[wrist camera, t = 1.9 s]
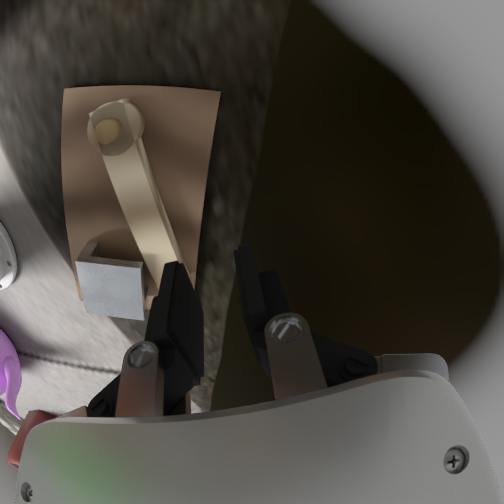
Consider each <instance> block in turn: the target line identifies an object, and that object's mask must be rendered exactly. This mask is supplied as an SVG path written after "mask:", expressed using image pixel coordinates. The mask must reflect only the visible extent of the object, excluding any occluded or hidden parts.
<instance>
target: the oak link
mask: <svg viewBox="0 0 504 504" xmlns="http://www.w3.org/2000/svg"><path fill="white" fill-rule="evenodd" d="M89 116H90V119H89V122H88V127H87V134H88V139H89V142H90V144H91V145H92V147H93V148H94V149H95V150H96V151H97V152H99V153H100V154H102V157H103V160H104V162H105V165H106V168H107V171H108V174H109V176H110V179H111V182H112V184H113V187H114V190H115V192H116V195H117V197H118V200H119V203H120V205H121V207H122V210H123V212H124V215H125V217H126V220H127V222H128V224H129V227H130V229H131V231H132V234H133V236H134V238H135V240H136V243H137V245H138V247H139V249H140V252H141V254H142V256H143V258H144V260H145V262H146V264H147V267H148V269H149V271H150V273H151V275H152V277H153V279H154V281H155V283H156V285H157V287H158V289H159V287H160V282H161V277H162V273H163V268H164V264H165V263H169V262H173V261H178V262H179V263H183V264H184V266H185V268H186V271H187V273H188V276H189V278H190V274H189V271H188V269H187V266H186V264H185V261H184V259H183V256H182V254H181V251H180V249H179V246H178V243H177V241H176V238H175V236H174V233H173V230H172V228H171V225H170V222H169V219H168V217H167V214H166V211H165V208H164V206H163V203H162V200H161V197H160V194H159V191H158V188H157V185H156V182H155V179H154V176H153V173H152V170H151V167H150V164H149V161H148V158H147V155H146V152H145V149H144V145H143V142H142V139H141V136H142V134H143V131H144V125H145V123H144V117H143V114H142V112H141V110H140V109H139V108H138V107H137V106H136V105H135V104H133V103H132V102H131V101H130V98H125V99H121V100H118V101H113V102H108V103H105V104H103V105H101V106H100V107H98V108H97V109H96V110H95V111H93V112H91V113H89Z"/></svg>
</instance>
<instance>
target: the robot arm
mask: <svg viewBox="0 0 504 504" xmlns="http://www.w3.org/2000/svg"><path fill="white" fill-rule="evenodd" d="M234 256H235V263H236V271H237V278H238V285H239V293H240V299H241V307H242V313H243V317H244V321H245V325H246V328H247V331H248V334H249V337H250V340H251V343H252V346H253V349H254V352H255V355H256V358H257V361H258V364H259V366H263V367H264V370H265V373H266V375H268V376H270V377H272V380H273V386H274V392H275V398H276V400H275V401H271V402H266V403H261V404H256V405H250V406H244V407H238V408H232V409H226V410H219V411H211V412H203V413H194V414H191V396H190V392H189V391H190V390H191V389H192V388H193V386H197V385H200V377H204V314H203V309H202V306H201V304H200V302H199V299H198V297H197V295H196V292H195V290H194V288H193V285H192V283H191V280H190V278H189V276H188V273H187V271H186V268H185V266H184V264H183V263H179V262H178V261H173V262H169V263H165V264H164V268H163V273H162V277H161V282H160V287H159V292H158V296H154V297H153V300H152V304H151V309H150V314H149V319H148V324H147V329H146V335H145V340H144V341H141V342H138V343H136V344H134V345H132V346H131V347H130V348H129V349H128V350H127V352H126V353H125V356H124V359H123V364H122V370H121V374H119V375H118V376H117V377H116V378H115V379H114V380H113V381H112V382H111V383H109V384H108V385H107V386H106V387H105V388H104V389H103V390H102V391H101V392H99V393H98V394H97V395H96V396H95V397H94V398H93V399H92V400H91V401H90V403H89V405H88V407H86V406H82V407H80V408H78V409H75V410H73V411H71V412H68V413H66V414H63V415H61V416H59V417H56V418H54V419H52V420H48V421H45V422H43V423H40V424H38V425H36V426H35V427H33V428H32V429H31V430H30V432H29V433H28V435H27V437H26V440H25V443H24V446H23V450H22V454H21V458H20V464H19V470H18V477H17V488H16V504H503V501H502V497H501V493H500V489H499V486H498V482H497V479H496V475H495V472H494V469H493V466H492V464H491V461H490V458H489V456H488V453H487V450H486V448H485V445H484V443H483V440H482V438H481V436H480V433H479V431H478V429H477V427H476V425H475V423H474V421H473V419H472V417H471V415H470V413H469V411H468V409H467V407H466V406H465V404H464V402H463V401H462V399H461V397H460V396H459V395H458V393H457V392H456V390H455V389H454V388H453V386H452V385H451V384H450V383H449V376H448V367H447V364H446V362H445V361H444V359H443V358H442V357H440V356H438V355H437V354H383V356H382V357H373V356H372V355H371V354H370V353H368V352H366V351H364V350H361V349H358V348H355V347H352V346H350V345H347V344H344V343H341V342H339V341H336V340H333V339H331V338H328V337H325V336H323V335H320V334H317V333H315V332H312V331H310V329H309V326H308V323H307V322H306V320H305V319H304V318H303V317H302V316H300V315H298V314H295V313H290V310H289V307H288V304H287V301H286V298H285V294H284V291H283V288H282V285H281V283H280V279H279V276H278V273H277V270H276V269H274V270H270V271H265V272H261V273H258V272H257V267H256V263H255V259H254V255H253V251H252V246H251V243H249V244H244V245H240V246H238V250H234ZM16 273H17V259H16V254H15V250H14V247H13V244H12V242H11V239H10V237H9V235H8V233H7V231H6V229H5V228H4V226H3V225H2V223H1V222H0V290H3V289H6V288H8V287H9V286H10V285H11V283H12V282H13V281H14V279H15V277H16Z"/></svg>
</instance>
